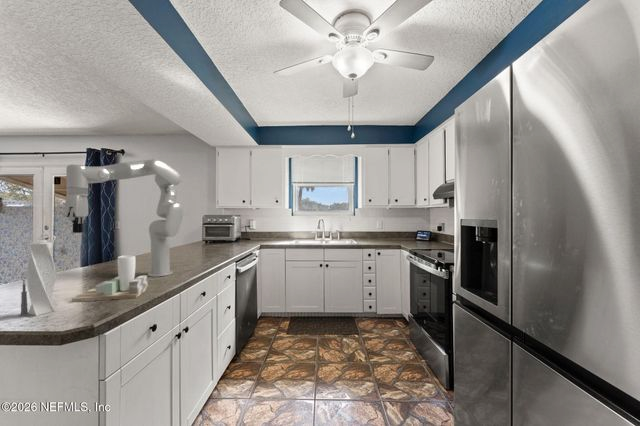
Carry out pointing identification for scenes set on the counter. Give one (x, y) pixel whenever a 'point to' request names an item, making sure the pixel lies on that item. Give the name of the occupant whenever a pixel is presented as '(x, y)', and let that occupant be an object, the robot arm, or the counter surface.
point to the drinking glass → (126, 271)
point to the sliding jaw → (108, 287)
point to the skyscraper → (39, 279)
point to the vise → (134, 291)
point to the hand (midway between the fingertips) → (77, 232)
